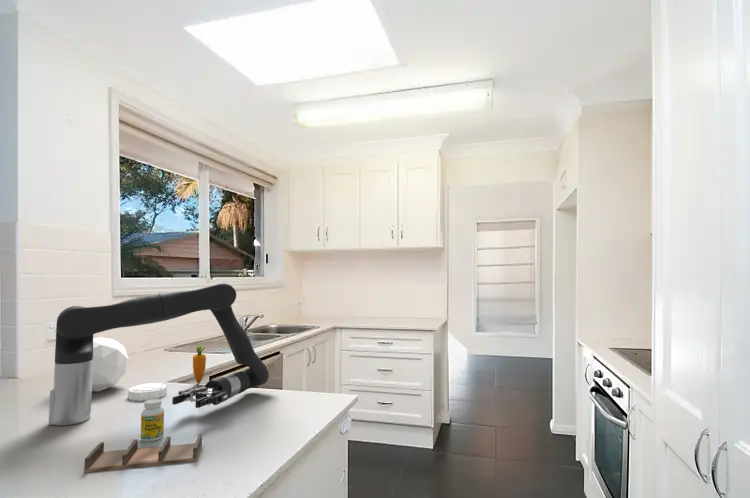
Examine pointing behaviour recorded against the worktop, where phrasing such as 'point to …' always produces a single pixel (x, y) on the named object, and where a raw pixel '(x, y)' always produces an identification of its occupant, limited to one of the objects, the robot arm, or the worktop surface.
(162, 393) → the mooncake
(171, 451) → the slot rack
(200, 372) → the carrot
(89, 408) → the robot arm
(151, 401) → the supplement bottle
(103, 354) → the ball
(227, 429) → the worktop surface
